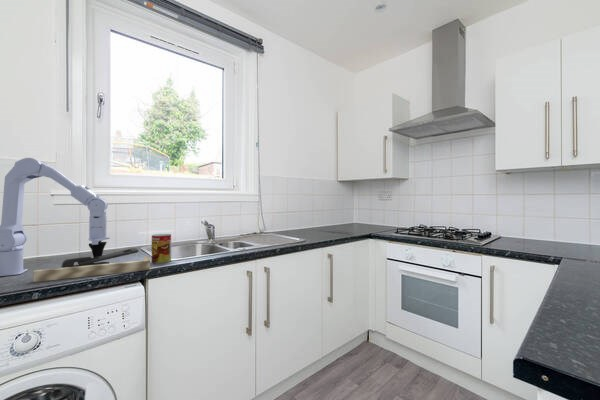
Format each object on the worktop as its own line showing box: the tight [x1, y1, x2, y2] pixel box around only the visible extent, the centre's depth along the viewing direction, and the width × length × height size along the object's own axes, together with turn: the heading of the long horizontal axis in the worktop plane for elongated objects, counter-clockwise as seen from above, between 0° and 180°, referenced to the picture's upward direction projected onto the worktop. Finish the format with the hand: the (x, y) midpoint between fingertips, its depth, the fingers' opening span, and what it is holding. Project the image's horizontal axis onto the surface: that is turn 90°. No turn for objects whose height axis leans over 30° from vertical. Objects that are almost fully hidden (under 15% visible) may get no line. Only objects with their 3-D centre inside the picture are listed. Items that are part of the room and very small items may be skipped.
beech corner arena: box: [33, 254, 151, 283], centre depth 105 cm, size 34×13×4 cm, turn 119°
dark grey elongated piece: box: [60, 247, 139, 268], centre depth 110 cm, size 9×7×25 cm
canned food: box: [151, 233, 172, 264], centre depth 123 cm, size 8×8×12 cm
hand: (97, 260), depth 113 cm, fingers closed
